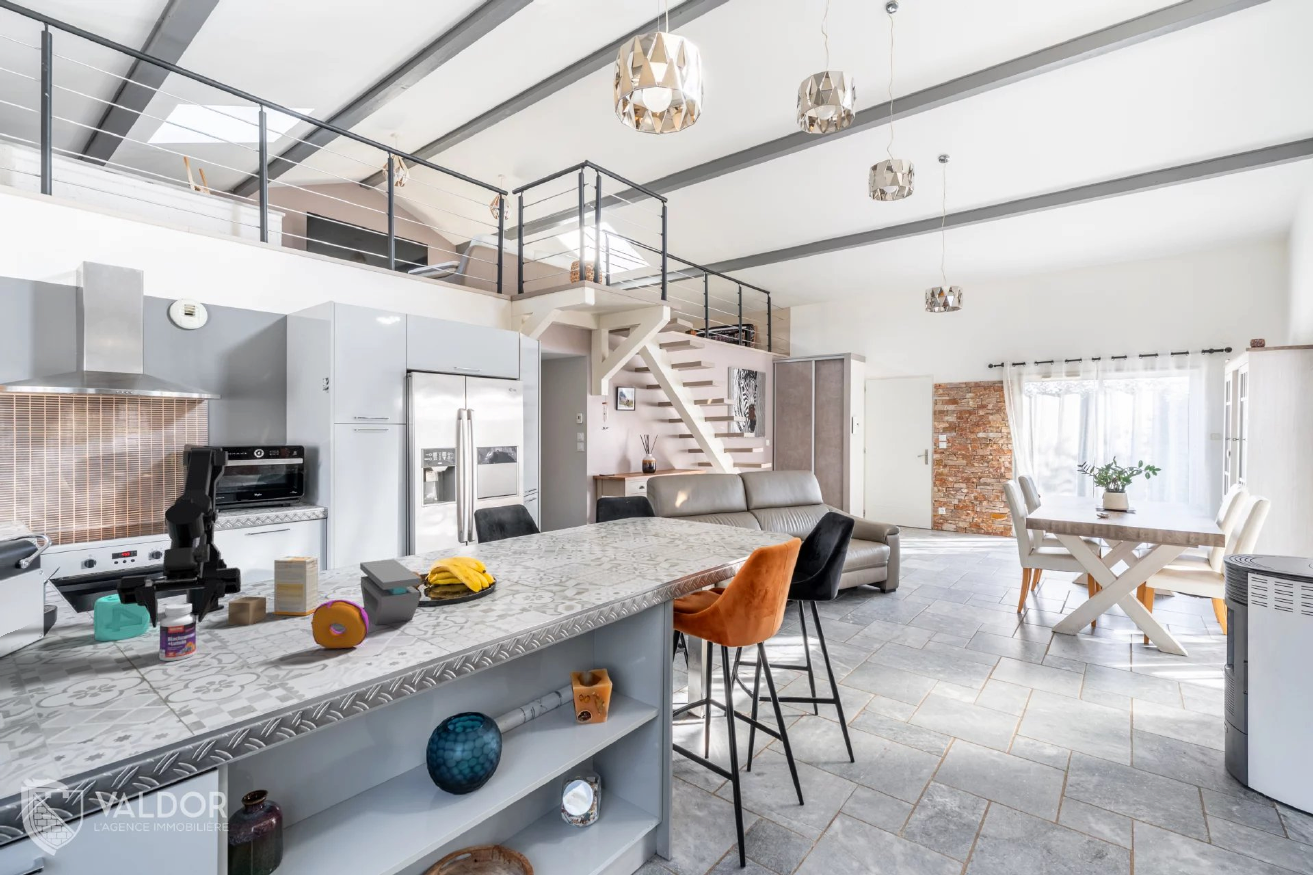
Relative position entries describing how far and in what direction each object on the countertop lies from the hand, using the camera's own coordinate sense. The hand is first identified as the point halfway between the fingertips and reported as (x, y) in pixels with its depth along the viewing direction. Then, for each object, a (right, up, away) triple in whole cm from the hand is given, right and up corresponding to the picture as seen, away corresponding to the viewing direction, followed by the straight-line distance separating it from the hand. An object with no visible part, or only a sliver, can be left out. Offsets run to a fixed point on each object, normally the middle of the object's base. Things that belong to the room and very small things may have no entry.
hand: (177, 623), depth 112 cm
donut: (+27, -7, +6) cm, 29 cm away
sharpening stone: (+27, -7, +29) cm, 40 cm away
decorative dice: (-22, -7, +13) cm, 26 cm away
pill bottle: (-1, -7, +1) cm, 7 cm away
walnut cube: (-3, -7, +23) cm, 24 cm away
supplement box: (+4, -7, +30) cm, 31 cm away
